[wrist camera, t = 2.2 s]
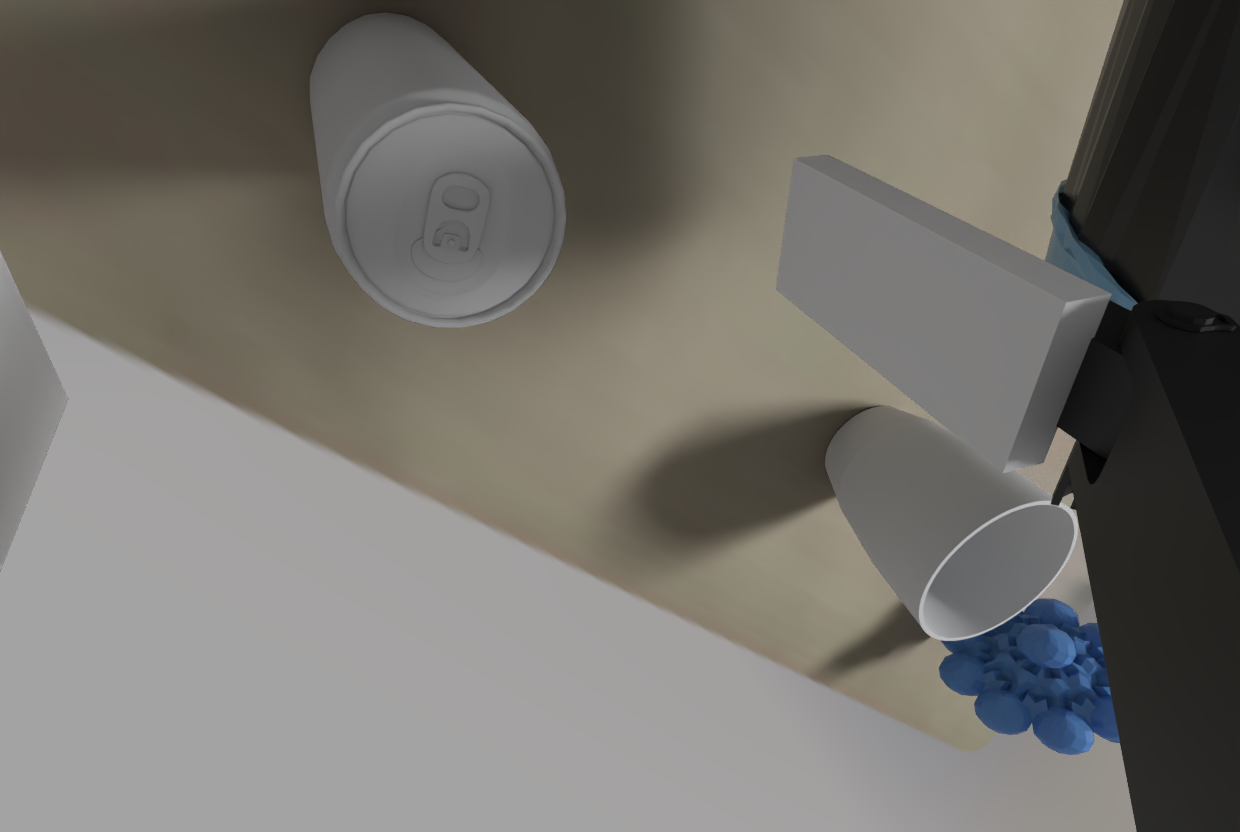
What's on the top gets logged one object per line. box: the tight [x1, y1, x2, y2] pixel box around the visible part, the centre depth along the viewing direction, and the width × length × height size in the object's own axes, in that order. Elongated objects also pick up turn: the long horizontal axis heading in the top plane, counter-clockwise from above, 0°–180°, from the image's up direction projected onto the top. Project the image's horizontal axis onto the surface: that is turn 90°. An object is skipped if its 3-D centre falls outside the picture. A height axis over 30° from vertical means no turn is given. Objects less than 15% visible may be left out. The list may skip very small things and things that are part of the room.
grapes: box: [939, 599, 1120, 755], centre depth 50 cm, size 12×7×12 cm, turn 105°
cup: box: [825, 406, 1078, 641], centre depth 38 cm, size 8×8×10 cm
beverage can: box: [310, 12, 567, 328], centre depth 20 cm, size 5×5×12 cm
